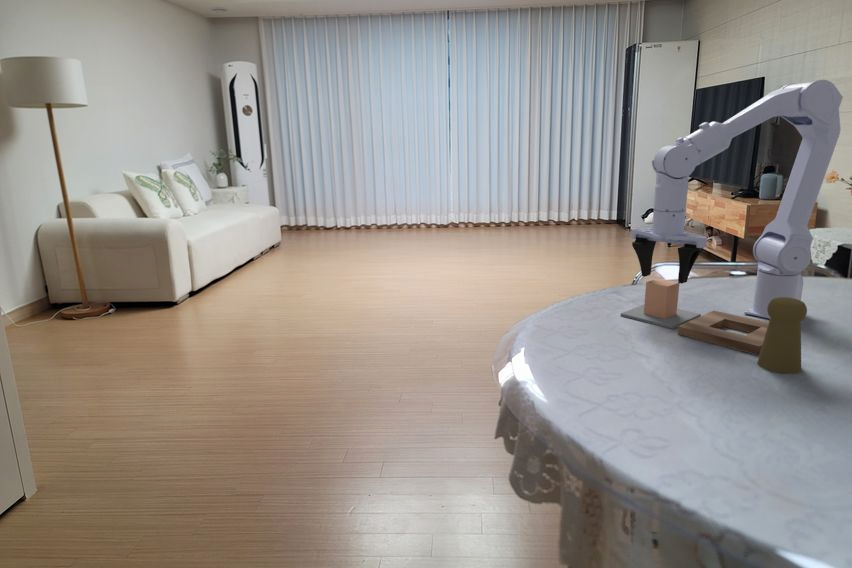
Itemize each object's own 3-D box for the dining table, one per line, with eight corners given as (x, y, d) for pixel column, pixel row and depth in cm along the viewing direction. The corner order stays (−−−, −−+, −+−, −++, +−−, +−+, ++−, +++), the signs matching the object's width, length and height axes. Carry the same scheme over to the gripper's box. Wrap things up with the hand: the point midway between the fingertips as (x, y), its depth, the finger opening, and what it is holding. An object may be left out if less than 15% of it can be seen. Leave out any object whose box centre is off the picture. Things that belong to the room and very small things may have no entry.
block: (655, 309, 121) (658, 278, 120) (676, 314, 118) (679, 282, 116) (643, 313, 119) (646, 282, 117) (664, 318, 115) (667, 286, 114)
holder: (713, 317, 117) (713, 310, 117) (791, 335, 107) (792, 327, 106) (677, 333, 108) (678, 326, 108) (758, 354, 98) (759, 346, 97)
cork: (808, 374, 90) (818, 305, 87) (764, 372, 91) (773, 303, 88) (792, 359, 96) (802, 294, 93) (751, 357, 97) (760, 293, 94)
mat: (649, 304, 126) (649, 302, 126) (700, 316, 118) (700, 314, 118) (620, 315, 119) (620, 313, 119) (672, 328, 111) (672, 326, 111)
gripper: (624, 208, 116) (619, 276, 119) (696, 215, 105) (689, 289, 109) (643, 205, 120) (638, 270, 124) (715, 211, 110) (708, 282, 113)
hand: (663, 278), depth 117 cm, fingers open, 7 cm apart
